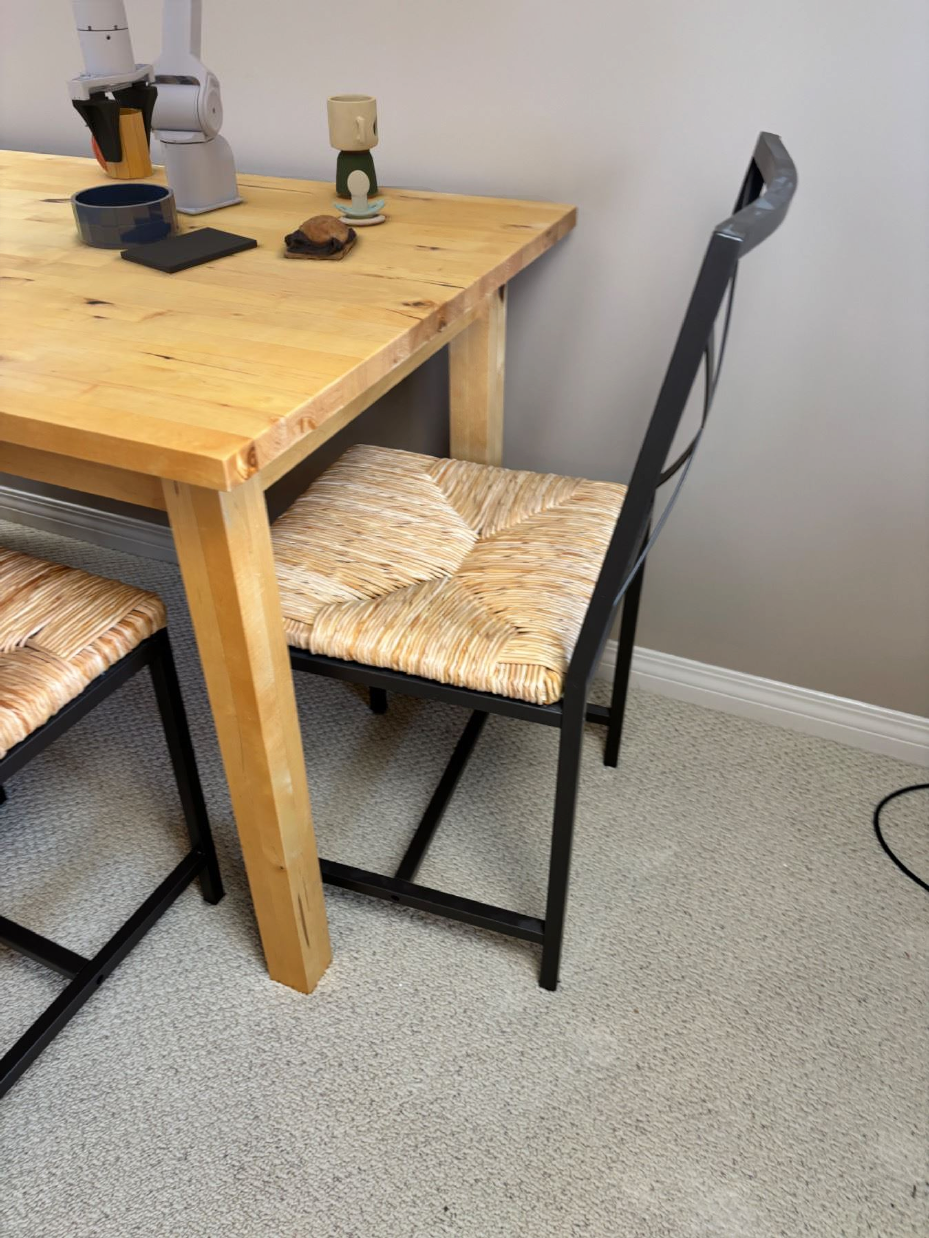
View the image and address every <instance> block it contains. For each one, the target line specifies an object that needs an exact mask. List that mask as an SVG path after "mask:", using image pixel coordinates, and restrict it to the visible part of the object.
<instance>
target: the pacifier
mask: <svg viewBox="0 0 929 1238" xmlns="http://www.w3.org/2000/svg"><path fill="white" fill-rule="evenodd" d="M347 183H348V189H349V191H350V192H351V195H350V196H351V206H349V205H345V204H342V203H339V202H335V201H333V202H332V205H333V207H334V208H335V209H336V210H338V211H339V212H341V213H343V214H344V215H342V216H340V217H339V218H338V219H339V220H341V221H342V222H343V223H344V224H345V225H349V226H351V225H353V226H360V225H361V226H365V225H373V224H378V223H382V222H384V221H385V220H386V216H385V215H383V214H380V213H379V211H381V210H382V209H383V208H384V207H385V206H386V204H387V199H384V198H382V199H378V200H376V201H374V202H370V203H369V204H368V194H367V192H368V190H369V186H370V184H369V179H368V177H367V175H366V174H365V173H364V172H362V171H359V170H356V171H353V172H352V173H351V174H350V175H349V177H348V182H347Z"/></svg>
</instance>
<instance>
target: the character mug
mask: <svg viewBox="0 0 929 1238" xmlns="http://www.w3.org/2000/svg"><path fill="white" fill-rule="evenodd" d="M326 108H327V109H326V110H327V122H328V124H327V125H328V137H329V144H330V147H331V148H332V149H335V150H337V151H339V152H338V154H337V158H336V168H335V171H336V172H335V192H336V194H339V195H344V196H345V195H346V196H347V195H348V196H349V195H350V196H351V192H350V191H349V189H348V183H347V182H348V177H349V175H350V174H351V173H352V172H353V171H356V170H359V171H362V172H364V173H365V174H366V175H367V177H368V179H369V184H370V186H369V190H368V192H367V195H371V196H372V195H375V194H377V193H378V191H379V187H378V179H377V173H376V168H375V163H374V156H373V155H372V153H371V149H373V148H374V147H377V146H378V144H379V133H378V132H379V131H378V129H379V128H378V105H377V97H376V96H374V95H368V94H358V93H357V94H355V93H351V94H349V93H345V94H336V95H331V96H328V97H327V98H326Z"/></svg>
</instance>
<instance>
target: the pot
mask: <svg viewBox="0 0 929 1238" xmlns="http://www.w3.org/2000/svg"><path fill="white" fill-rule="evenodd" d="M70 205H71V208H72V209H71V210H72V213H73V218H74V221H75V225H76V231H77V235H78V237H79V240H80V242H81V243H83V244H84V245H86V246H89V247H91V248H97V249H106V250H128V249H132V248H136V247H139V246H143V245H146V244H150V243H153V242H157V241H160V240H164V239H167V238H171V237H175V236H178V235H180V233H181V228H180V223H179V217H178V211H177V210H176V204H175V199H174V193H173V190H172V189H171V188H169V187H168V185H162V184H158V183H150V182H120V183H119V182H118V183H109V184H102V185H96V186H92V187H87V188H84V189H81V190H79V191H76V192H75V193H73V194H72V195H71V196H70Z"/></svg>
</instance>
